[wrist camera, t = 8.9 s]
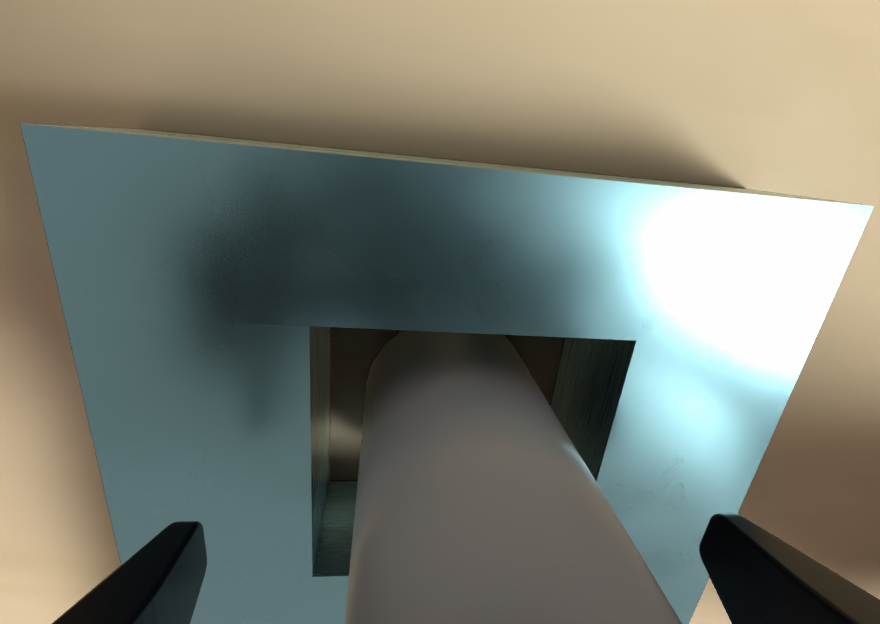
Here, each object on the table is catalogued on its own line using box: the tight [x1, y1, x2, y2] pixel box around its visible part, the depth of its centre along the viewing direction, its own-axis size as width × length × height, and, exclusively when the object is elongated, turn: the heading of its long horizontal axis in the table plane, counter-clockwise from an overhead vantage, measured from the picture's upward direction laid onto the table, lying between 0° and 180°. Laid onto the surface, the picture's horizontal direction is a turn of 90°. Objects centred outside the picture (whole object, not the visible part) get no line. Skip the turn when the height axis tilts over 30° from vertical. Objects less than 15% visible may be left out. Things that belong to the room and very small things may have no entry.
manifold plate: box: [20, 123, 874, 624], centre depth 12 cm, size 14×22×3 cm, turn 174°
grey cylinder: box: [344, 330, 682, 624], centre depth 8 cm, size 4×4×8 cm
